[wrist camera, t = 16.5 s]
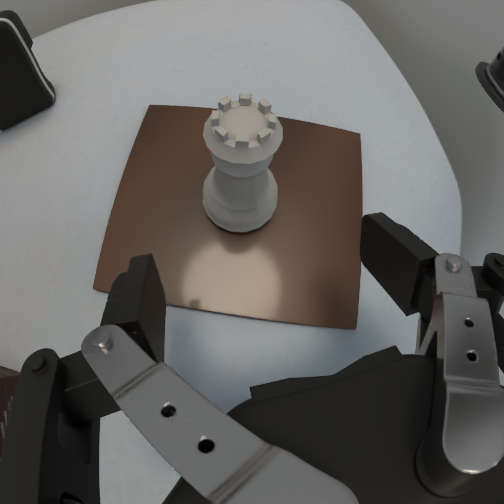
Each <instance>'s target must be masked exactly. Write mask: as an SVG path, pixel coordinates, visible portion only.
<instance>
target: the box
mask: <svg viewBox="0 0 504 504" xmlns="http://www.w3.org/2000/svg"><path fill="white" fill-rule="evenodd" d="M19 376H20V373H19V372H16V371H13V370H10V369H7V368H4V367H1V366H0V458H1V452H2V446H3V441H4V435H5V430H6V426H7V421H8V417H9V412H10V408H11V404H12V400H13V397H14V393H15V389H16V386H17V382H18V379H19Z"/></svg>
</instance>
